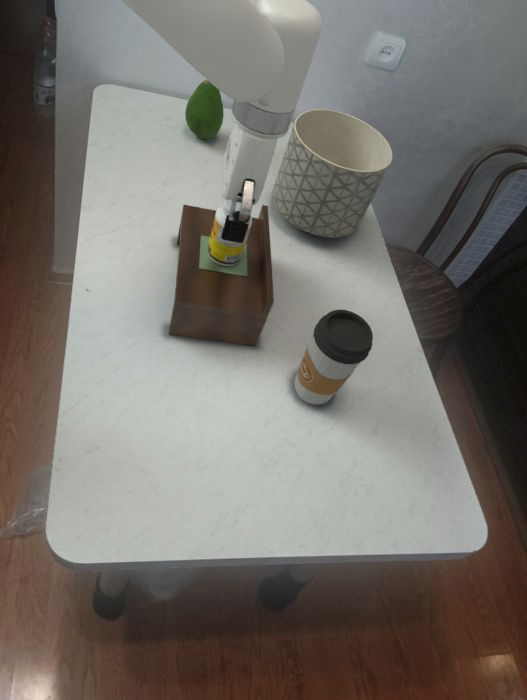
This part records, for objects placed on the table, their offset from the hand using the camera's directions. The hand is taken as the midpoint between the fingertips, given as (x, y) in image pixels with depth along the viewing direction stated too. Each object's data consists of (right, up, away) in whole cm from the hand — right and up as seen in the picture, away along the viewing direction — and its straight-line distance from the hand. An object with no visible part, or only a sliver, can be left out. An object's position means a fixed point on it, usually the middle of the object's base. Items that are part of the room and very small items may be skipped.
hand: (231, 218), depth 80 cm
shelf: (-4, -9, +12) cm, 16 cm away
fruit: (-9, +28, +39) cm, 49 cm away
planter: (+15, +8, +32) cm, 36 cm away
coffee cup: (+12, -26, +5) cm, 29 cm away
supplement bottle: (-2, -5, +6) cm, 8 cm away
